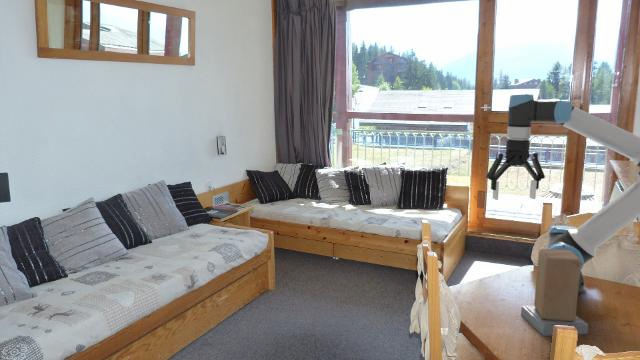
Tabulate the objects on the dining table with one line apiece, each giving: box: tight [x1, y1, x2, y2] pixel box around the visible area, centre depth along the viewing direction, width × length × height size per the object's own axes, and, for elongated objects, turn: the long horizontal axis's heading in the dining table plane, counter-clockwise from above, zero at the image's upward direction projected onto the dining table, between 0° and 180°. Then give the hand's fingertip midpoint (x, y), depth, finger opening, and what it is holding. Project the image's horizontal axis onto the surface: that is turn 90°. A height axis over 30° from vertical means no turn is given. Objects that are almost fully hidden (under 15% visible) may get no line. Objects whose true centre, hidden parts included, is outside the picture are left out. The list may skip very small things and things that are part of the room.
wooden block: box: [533, 248, 581, 321], centre depth 153 cm, size 10×10×20 cm
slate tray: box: [520, 305, 589, 337], centre depth 156 cm, size 14×14×3 cm
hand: (513, 198), depth 175 cm, fingers open, 13 cm apart
